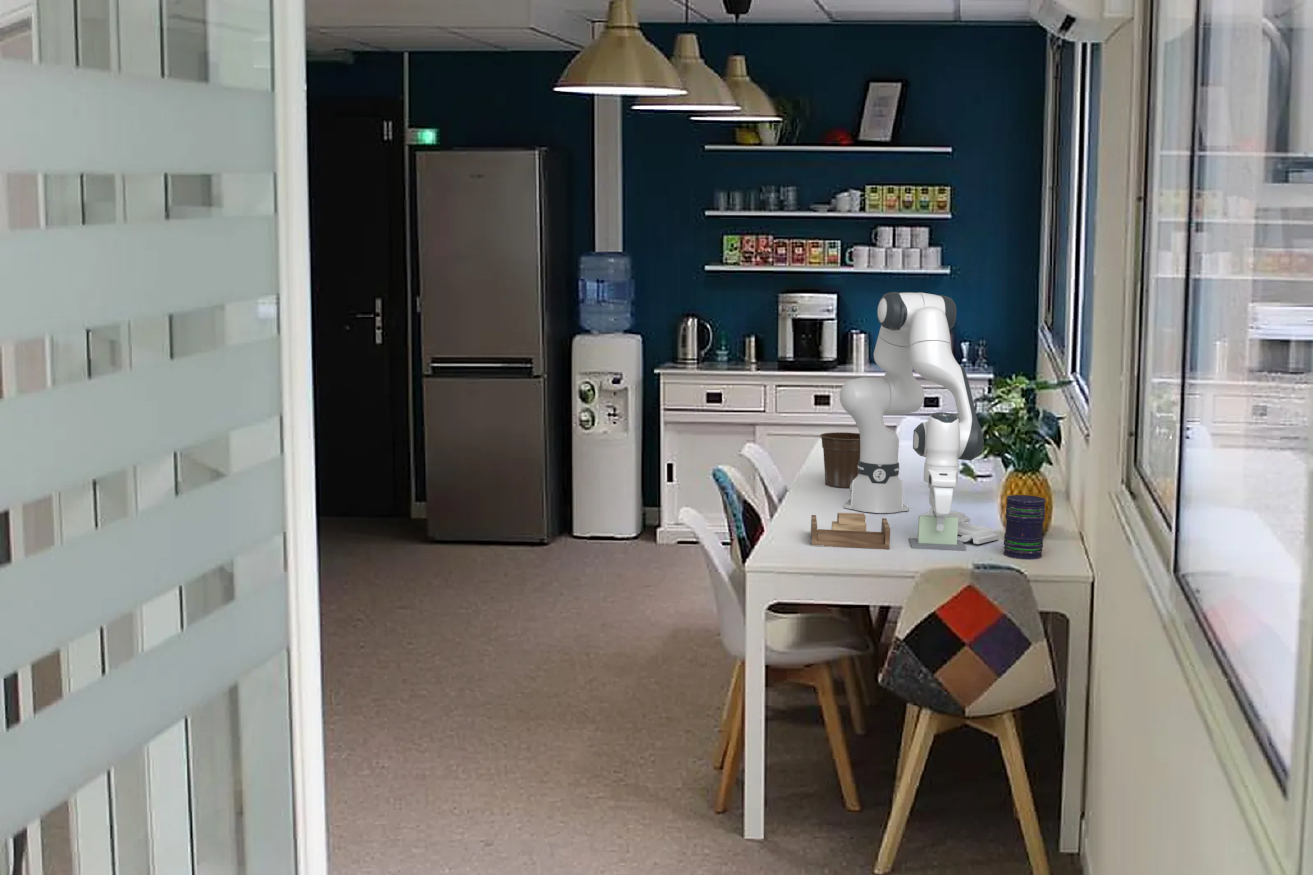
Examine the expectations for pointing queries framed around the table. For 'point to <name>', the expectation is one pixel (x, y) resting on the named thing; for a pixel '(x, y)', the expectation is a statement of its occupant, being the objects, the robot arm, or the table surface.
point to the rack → (851, 537)
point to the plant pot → (841, 458)
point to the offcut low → (848, 527)
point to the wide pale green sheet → (933, 536)
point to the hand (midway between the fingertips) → (937, 527)
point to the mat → (937, 545)
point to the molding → (971, 529)
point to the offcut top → (851, 518)
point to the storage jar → (1024, 527)
